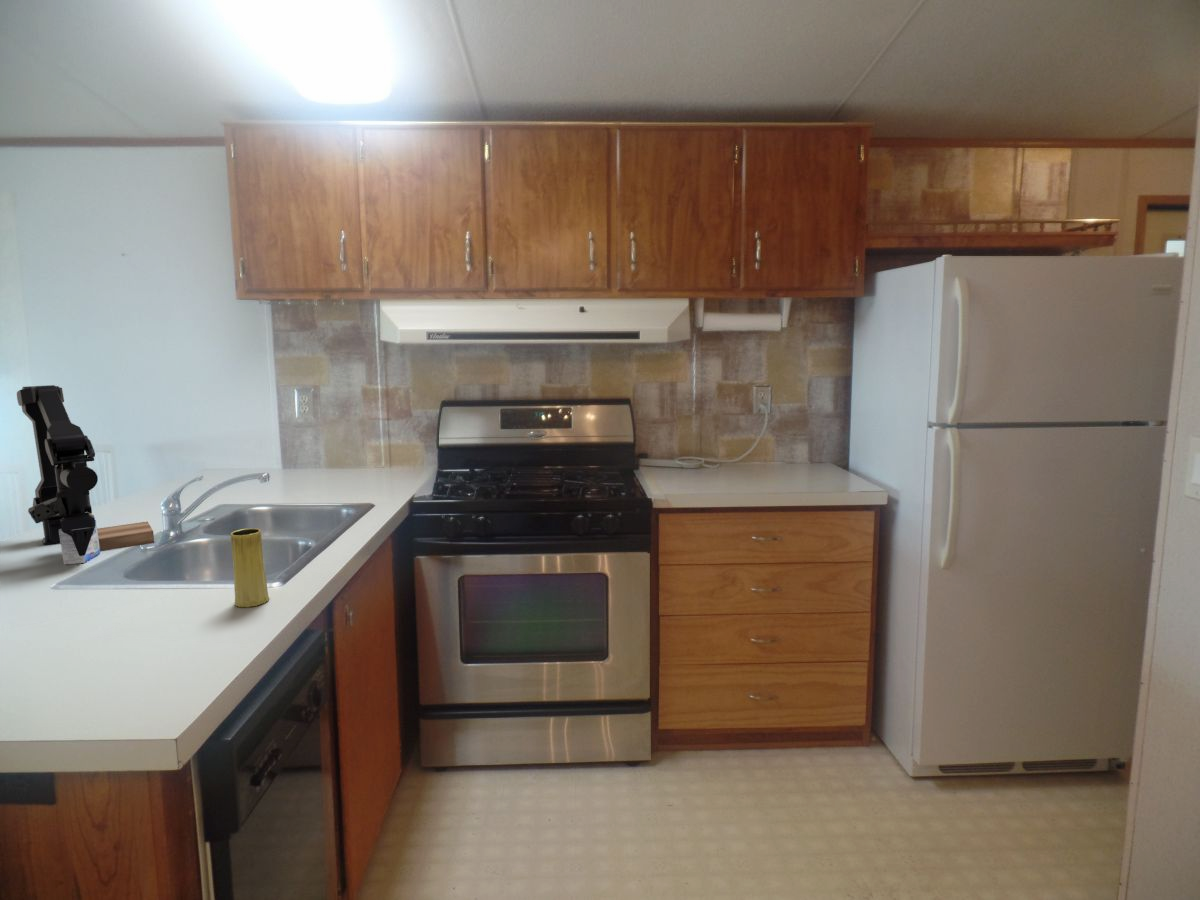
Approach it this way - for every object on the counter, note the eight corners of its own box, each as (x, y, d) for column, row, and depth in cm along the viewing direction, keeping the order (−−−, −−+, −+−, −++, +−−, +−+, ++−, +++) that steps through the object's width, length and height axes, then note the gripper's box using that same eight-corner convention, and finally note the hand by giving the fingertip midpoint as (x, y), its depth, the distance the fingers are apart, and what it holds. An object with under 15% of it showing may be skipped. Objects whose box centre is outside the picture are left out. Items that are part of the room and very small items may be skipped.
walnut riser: (93, 540, 181) (92, 529, 180) (148, 532, 188) (147, 521, 187) (96, 551, 171) (95, 539, 171) (154, 542, 178) (153, 531, 178)
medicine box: (85, 563, 162) (80, 527, 161) (63, 565, 161) (57, 528, 160) (101, 553, 170) (96, 518, 168) (80, 555, 169) (75, 520, 167)
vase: (275, 596, 141) (269, 527, 138) (257, 608, 135) (251, 536, 132) (246, 595, 141) (240, 527, 139) (227, 607, 135) (220, 536, 133)
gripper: (28, 484, 165) (37, 548, 168) (27, 498, 150) (37, 568, 153) (87, 478, 172) (94, 539, 174) (91, 490, 157) (99, 557, 160)
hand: (81, 550), depth 165 cm, fingers open, 9 cm apart
